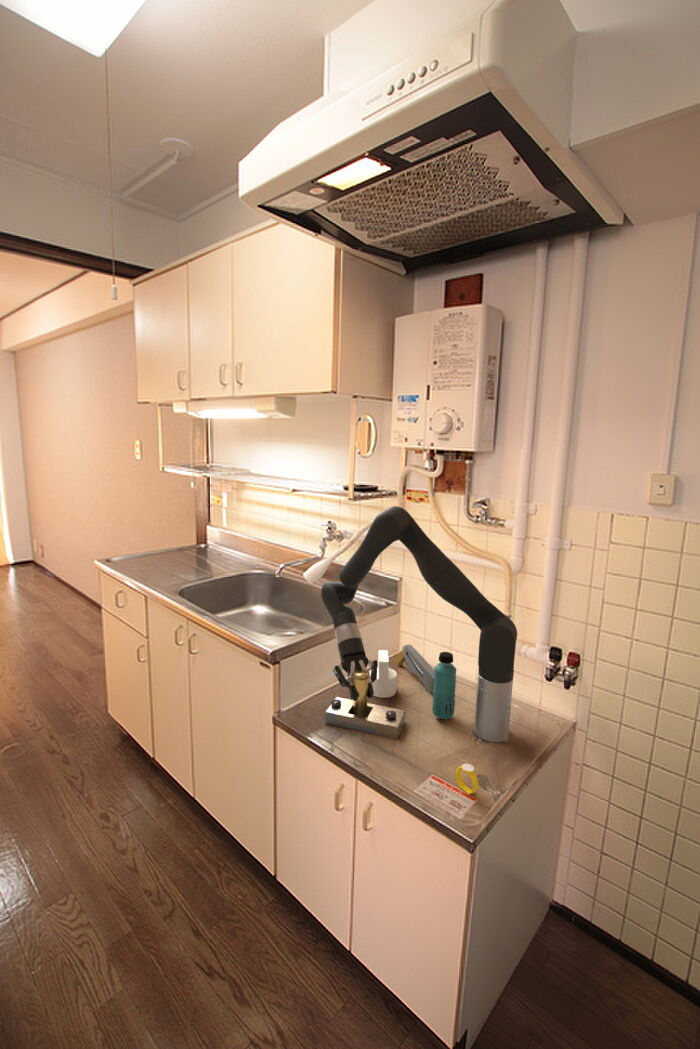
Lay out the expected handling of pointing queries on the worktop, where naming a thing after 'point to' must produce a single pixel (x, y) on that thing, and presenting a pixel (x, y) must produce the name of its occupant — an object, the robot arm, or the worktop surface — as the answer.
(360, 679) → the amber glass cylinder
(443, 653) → the beverage bottle
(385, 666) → the cylinder with rectangular tab
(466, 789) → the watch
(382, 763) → the worktop surface
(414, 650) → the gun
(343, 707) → the metal socket block
